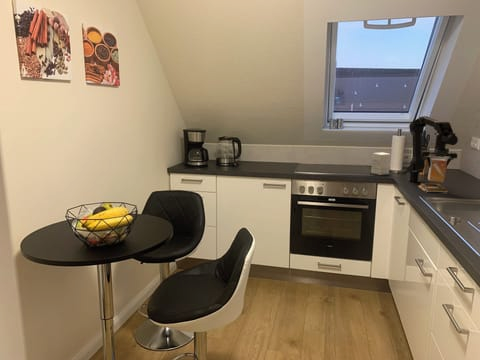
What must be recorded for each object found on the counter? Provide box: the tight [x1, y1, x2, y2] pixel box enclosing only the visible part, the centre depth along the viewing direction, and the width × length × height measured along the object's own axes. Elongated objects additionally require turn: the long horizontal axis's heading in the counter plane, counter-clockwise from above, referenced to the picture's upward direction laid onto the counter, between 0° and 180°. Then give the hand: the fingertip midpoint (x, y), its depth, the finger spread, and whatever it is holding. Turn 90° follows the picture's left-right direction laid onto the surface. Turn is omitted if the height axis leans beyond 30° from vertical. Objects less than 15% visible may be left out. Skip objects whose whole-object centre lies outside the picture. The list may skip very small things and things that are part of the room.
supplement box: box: [370, 151, 392, 176], centre depth 272 cm, size 9×9×15 cm
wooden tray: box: [418, 182, 448, 193], centre depth 227 cm, size 14×12×2 cm
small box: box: [427, 158, 447, 183], centre depth 227 cm, size 8×6×13 cm
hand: (437, 168), depth 227 cm, fingers closed on small box, 8 cm apart
